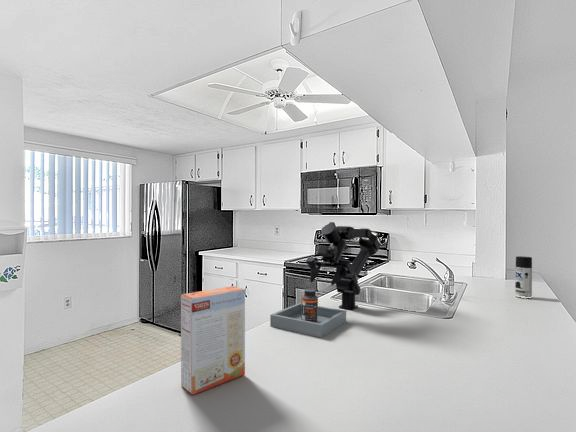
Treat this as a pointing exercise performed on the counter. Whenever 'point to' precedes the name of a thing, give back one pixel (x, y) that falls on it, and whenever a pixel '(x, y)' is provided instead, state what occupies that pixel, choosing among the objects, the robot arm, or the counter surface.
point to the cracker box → (212, 337)
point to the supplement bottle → (309, 306)
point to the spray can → (523, 276)
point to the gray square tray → (293, 322)
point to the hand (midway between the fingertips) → (321, 283)
